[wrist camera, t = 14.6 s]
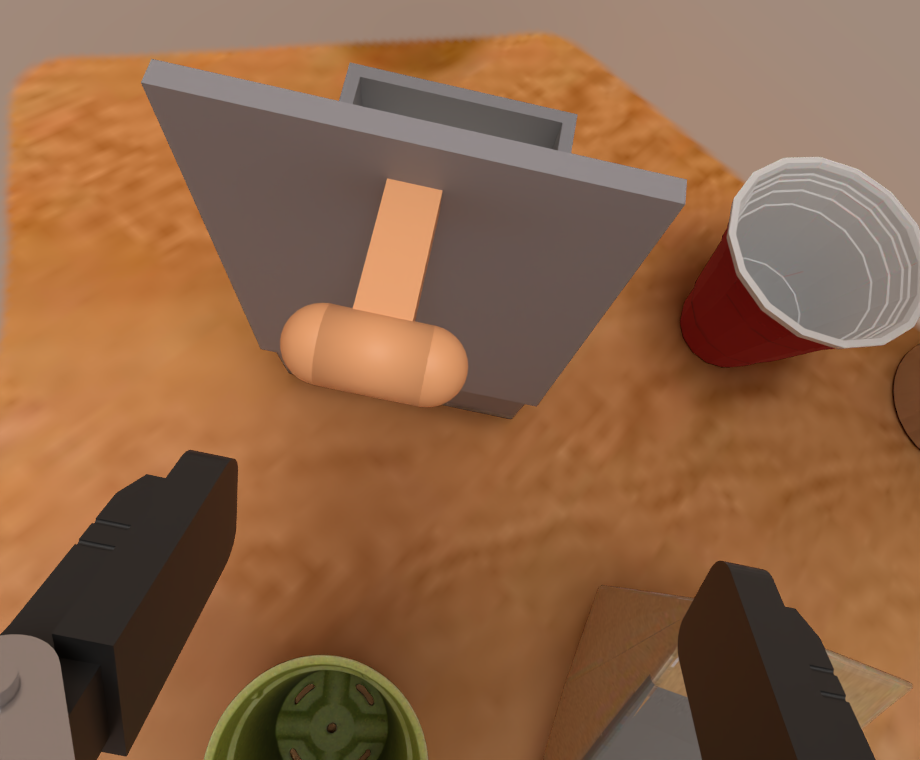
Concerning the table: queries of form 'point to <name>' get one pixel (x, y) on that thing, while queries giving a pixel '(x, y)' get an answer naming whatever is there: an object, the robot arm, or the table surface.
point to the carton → (470, 115)
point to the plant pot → (318, 715)
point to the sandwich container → (658, 684)
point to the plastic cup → (806, 268)
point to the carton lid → (405, 238)
